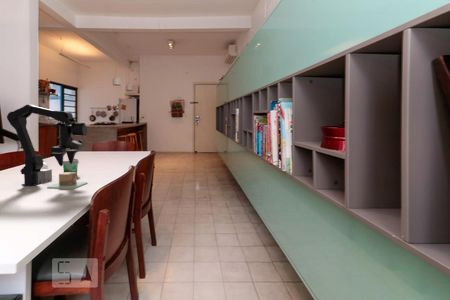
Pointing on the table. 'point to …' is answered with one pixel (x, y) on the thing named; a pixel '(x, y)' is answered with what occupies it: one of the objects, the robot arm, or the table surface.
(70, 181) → the tan cube
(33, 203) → the table surface
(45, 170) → the medium grey block
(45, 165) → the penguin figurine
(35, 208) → the table surface
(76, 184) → the sage mat
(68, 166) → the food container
